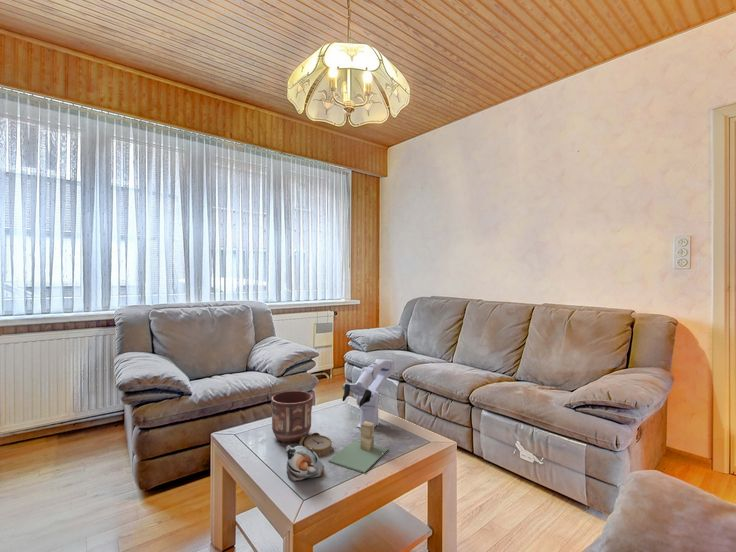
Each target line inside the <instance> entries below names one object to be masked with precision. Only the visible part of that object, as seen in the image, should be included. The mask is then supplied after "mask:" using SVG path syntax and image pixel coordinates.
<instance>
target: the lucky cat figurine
mask: <svg viewBox="0 0 736 552" xmlns="http://www.w3.org/2000/svg"><path fill="white" fill-rule="evenodd" d="M285 451H286V454H287V461H286V475H287V476H288V477H289V478H290V479H291V480H292V481H293V482H296V481H302V480H304V479H311V478H318V477H322V476H323V473H324V470H325V465H324V464H323V462H321V460H320V458H319V457H320V456H319V457H318V456H317V454H316V453H315V452H313V451H314V449H313V448H312V447H310V448H309V449H307V448H306V447H303V446H300V445H296V446H294V447H292V445H291V444H288V445H287V446H285Z"/></svg>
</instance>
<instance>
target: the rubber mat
mask: <svg viewBox="0 0 736 552" xmlns="http://www.w3.org/2000/svg"><path fill="white" fill-rule="evenodd" d="M360 444H361V440H358V439H354V440H353V441H352V442H351V443H349V444H348V445H346V446H345V447H344V448H343V449H341V450H340V451H339V452H338V453H336V454H335V455H333V456H332V457H331V458H329V459H328V463H330V464H334V465H336V466H340V467H344V468H346V469H350V470H353V471H355V470H356V471H355V472H358V471H359V472H358V473H361V472H363V473H362V474H364V473H365V472H366V471H367V470H368V469H369V468H370V467H371V466H372V465H373V464H374V463H375V462H376V461H377V460H378V459H379V458H380V457H381V456H382V455H383V454H384V453H385V452H386V451H387V450H388V449H389V448H388V447H384V446H380V445H377V444H374V447H373V448H372V449H371V450H370V451H366V450H363V449H360ZM387 452H388V451H387ZM387 452H386V453H387ZM382 453H383V454H382ZM386 453H385V454H386ZM385 454H384V455H385ZM384 455H383V456H384ZM383 456H382V457H383ZM382 457H381V458H382ZM381 458H380V459H381ZM380 459H379V460H380ZM379 460H378V461H379ZM378 461H377V462H378ZM377 462H376V463H377ZM376 463H375V464H376ZM375 464H374V465H375ZM374 465H373V466H374ZM373 466H372V467H373ZM372 467H371V468H372ZM371 468H370V469H371ZM370 469H369V470H370ZM369 470H368V471H369ZM368 471H367V472H368ZM367 472H366V473H367ZM366 473H365V474H366Z"/></svg>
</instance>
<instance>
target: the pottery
mask: <svg viewBox="0 0 736 552" xmlns="http://www.w3.org/2000/svg"><path fill="white" fill-rule="evenodd" d="M270 401H271V402H270V404H271V416H272V417H271V431H272V433H273V434H274V436H275V438H276V439H277V440H278V441H279V442H280V443H284V444H293V443H294V444H295V443H299V441H300V440H301V438H302V437H303V436H305V435H309V433H310V431H311V427H312V410H313V409H312V408H313V401H314V395H313V394H312V393H310V392H307V391H303V390H285V391H281V392H277V393H275V394H274V395H273V396H271V400H270Z"/></svg>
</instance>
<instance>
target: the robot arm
mask: <svg viewBox="0 0 736 552" xmlns="http://www.w3.org/2000/svg"><path fill="white" fill-rule="evenodd" d="M394 369H395V361H394V360H393V359H383V358H376V359H375V360H374V361H373V362H372V363H371V364H370V365H368V366H364V367H361V372H360V374H359V377H358V379H357V381H356V382H355V383H346V382H345V383H343V384H342V390H343V396H342V400H341V401H342V402H345V401H346V399H347V398H348V397H349V396H350V393H352V394H354V395H355V396H356V399H355V400H356V401H355V402H356V405H357V407H358V408H359V423H358V424H357V425H355V426H356V428H360V429H361V424H362V423H364V422H365V421H367V422H371V423H374V427H375V426H376V425H377V426H379V425H380V424H379V422H380V421H379V407H378V405H379V403H380V399H381V395H380V391H381V389H382V388H383V386H384V384H386V381H387V380H388V378H389V377H391V375H392V374H393V373H394ZM377 426H376V427H377ZM376 427H375V428H376Z"/></svg>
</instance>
